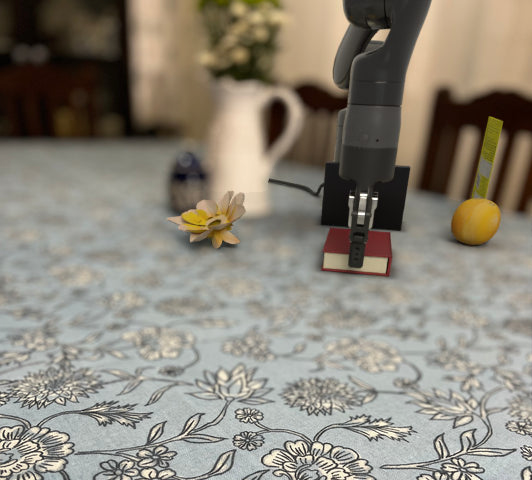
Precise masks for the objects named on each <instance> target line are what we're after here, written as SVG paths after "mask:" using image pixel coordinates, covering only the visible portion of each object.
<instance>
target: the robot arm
mask: <svg viewBox="0 0 532 480" xmlns="http://www.w3.org/2000/svg"><path fill="white" fill-rule="evenodd" d="M432 2H433V0H342V10H343V14H344V17H345V19H346V21H347V23H349V24H348V26H347V28H346V30H345V33H344V34H343V36H342V38H341V41H340V43H339V45H338V47H337V50H336V53H335V56H334V59H333V65H332V80H333V83H334V85H335V86H336V87H337V88H338V89H339V90H342V91H343V90H344V91H348V94H347V105H346V107H345V108H343V109H340V110H339V111H338V113H337V117H336V127H335V128H336V129H335V140H334V153H333V160H331V162H340V168H339V175H340V177H341V178H343V179H346V180H350V181H351V180H353V181H355V182H356V185H357V186H356V191H350V195H349V203H348V206H349V208H350V211H349V221H348V226H349V227H348V228H349V229H351V232H350V235H349V240H350V251H349V260H348V266H349V267H351V268H362V267H363V261H364V253H365V245H366V243H367V241H368V237H369V236H368V231H370V229H371V228H372V225H373V217H374V210H375V209H376V207H377V201H378V192H373V185H374V184H375V183H376V182H380V183H382V182H388V181H391V180H392V179H393V177H394V171H395V165H397V164H396V163H397V157H398V150H399V149H398V148H399V142H400V136H401V128H402V127H401V126H402V109H403V108H402V106H403V100H404V99H403V98H404V92H405V86H406V79H407V73H408V69H409V65H410V62H411V59H412V56H413V53H414V50H415V47H416V45H417V41H418V40H419V37H420V34H421V31H422V29H423V27H424V24H425V22H426V19H427V17H428V14H429V11H430V8H431V6H432ZM380 30H381V31H382V30H389V31H388V33H387V36H386V37H385V39H384V40H378V39H375V40H374V39H373V38H374V37H375V36H376V34H378V32H379V31H380ZM268 178H269V177H268ZM268 182H270V183H274V184H275V183H276V184H280V185H284V186H289V187H294V188H299V189H303V190H306V191H307V192H308V193H309V194H311V196H314V197H318V196H319V195H320V193H321V191H322V189H324V182H322V183H321V184H320V185H319V186H318V188H317V190H316V192H315V191H314V190H312V189H311V188H310V187H309V186H306V185H304V184H299V183H294V182H290V181H284V180H279V179H276V178H275V179H274V178H269V181H268ZM370 207H371V209H370ZM371 230H372V229H371Z"/></svg>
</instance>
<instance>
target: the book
mask: <svg viewBox="0 0 532 480" xmlns="http://www.w3.org/2000/svg"><path fill="white" fill-rule="evenodd" d="M350 232H351V228H341V227H329V230H328V233H327V236H326V239H325V242H324V244H323V248H322V253H323V254H324V255H323V261H322V265H321V268H320V271H325V272H335V273H337V272H338V273H346V274H358V275H370V276H380V277H390V276H391V275H390V274H391V269H392V261H393V248H392V236H391V231H379V230H369V231H368V236H369V237H368V241H367V243H366V245H365V253H364V261H363V267H362V268H351V267H349V266H348V260H349V251H350V240H349V235H350Z"/></svg>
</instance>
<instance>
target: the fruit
mask: <svg viewBox="0 0 532 480" xmlns="http://www.w3.org/2000/svg"><path fill="white" fill-rule="evenodd" d="M501 220H502V215H501V210H500V208H499V206H498V205H497V204H496V203H495V202H493V201H492V200H490V199H487V198H486V199H481V198H474V199H471V198H470V199H467V200H465V201H463V202H462V203H461V204H459V206H457V208H456V209H455V211H454V212H453V215H452V217H451V221H450V230H451V233H452V235H453V237H454V238H455V239H456V240H457V241H458V242H460V243H462V244H466V245H469V246H478V245H483V244H485V243H487V242H489V241H491V239H492V238H493V237H494V236H495V235H496V233H497V232H498V231H499V227H500V224H501Z"/></svg>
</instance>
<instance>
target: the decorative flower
mask: <svg viewBox="0 0 532 480" xmlns="http://www.w3.org/2000/svg"><path fill="white" fill-rule="evenodd" d="M234 194H235V191H234V190H227V192H226V193H225V194H224V195H223V196H222V197H220V199H219V201H218V203H217V202H216V201H215V200H209V199H202V200H200V201H199V202H197V204H196V207H195V208H196V209H191V208H190V209H188V210H187V211H184V212H182V213H181V215H178V216H169V217H166V218H165V219H166V220H167V221H168V222H171V223H173V224H175V225H177V226H178V230H180V231H183V232H185V233H189V243H194V242H200V241H203V240H205V239H207V240H208V239H210V240H211V244H212V247H213V248H214V249H216V250H218V249H219V248H220V247H221V246H222V244H223V241H224V242H225V243H228V244H232V245H236V244H238V243H240V242H241V240H240V239H239V238H238V237H237V236H236V235H234V234H233V233H232V232H230V231H233V228H232V227H234V223H235V222H237V221H238V220H240V219H241V218H242V217H243V216H244V215H245V214H246V213H247V210H246V208H245V205H244V202H245V197H246V195H245V193H244V192H238V193H236V194H235V195H234Z"/></svg>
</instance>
